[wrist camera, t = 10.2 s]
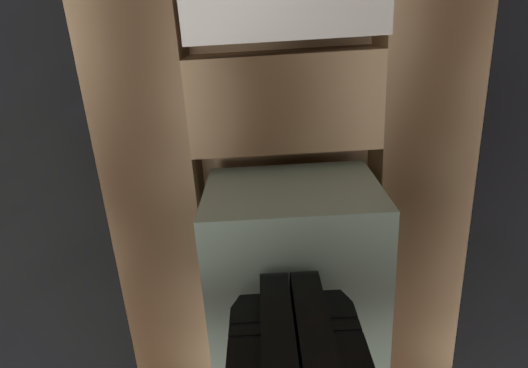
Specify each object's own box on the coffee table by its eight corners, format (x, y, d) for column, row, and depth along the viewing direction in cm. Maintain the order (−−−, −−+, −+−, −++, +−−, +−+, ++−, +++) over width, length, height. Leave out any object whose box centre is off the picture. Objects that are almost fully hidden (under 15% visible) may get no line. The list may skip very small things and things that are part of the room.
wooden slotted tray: (486, -271, 12) (541, -340, 10) (415, 455, 22) (434, 507, 20) (50, -241, 12) (0, -301, 10) (178, 466, 22) (168, 519, 20)
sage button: (363, 160, 14) (399, 211, 11) (359, 289, 16) (389, 372, 12) (210, 168, 14) (193, 222, 11) (224, 296, 16) (213, 381, 12)
